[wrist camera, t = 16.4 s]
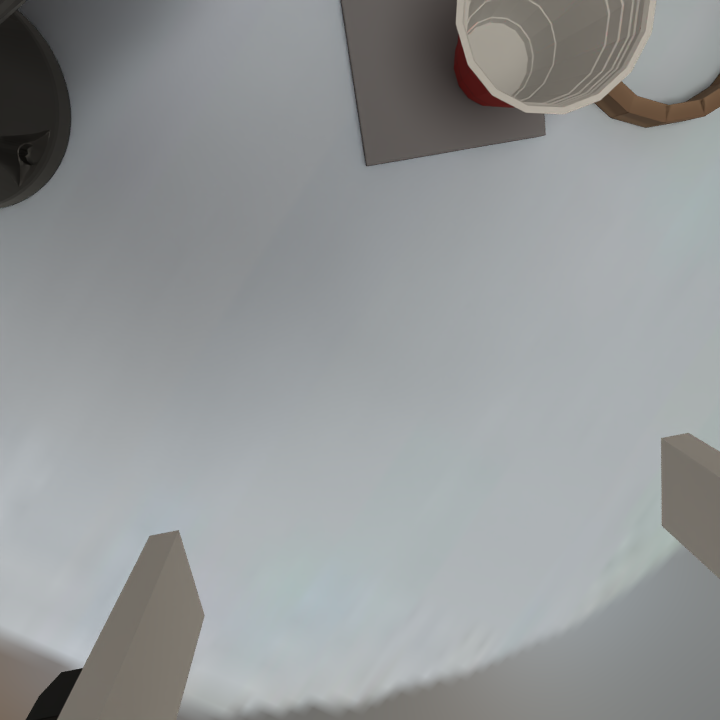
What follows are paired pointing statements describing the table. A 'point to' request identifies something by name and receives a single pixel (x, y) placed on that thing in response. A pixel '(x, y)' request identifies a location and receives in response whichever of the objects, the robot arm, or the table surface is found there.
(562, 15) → the plastic cup
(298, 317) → the table surface
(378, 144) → the rubber pad
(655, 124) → the walnut collar
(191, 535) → the table surface
